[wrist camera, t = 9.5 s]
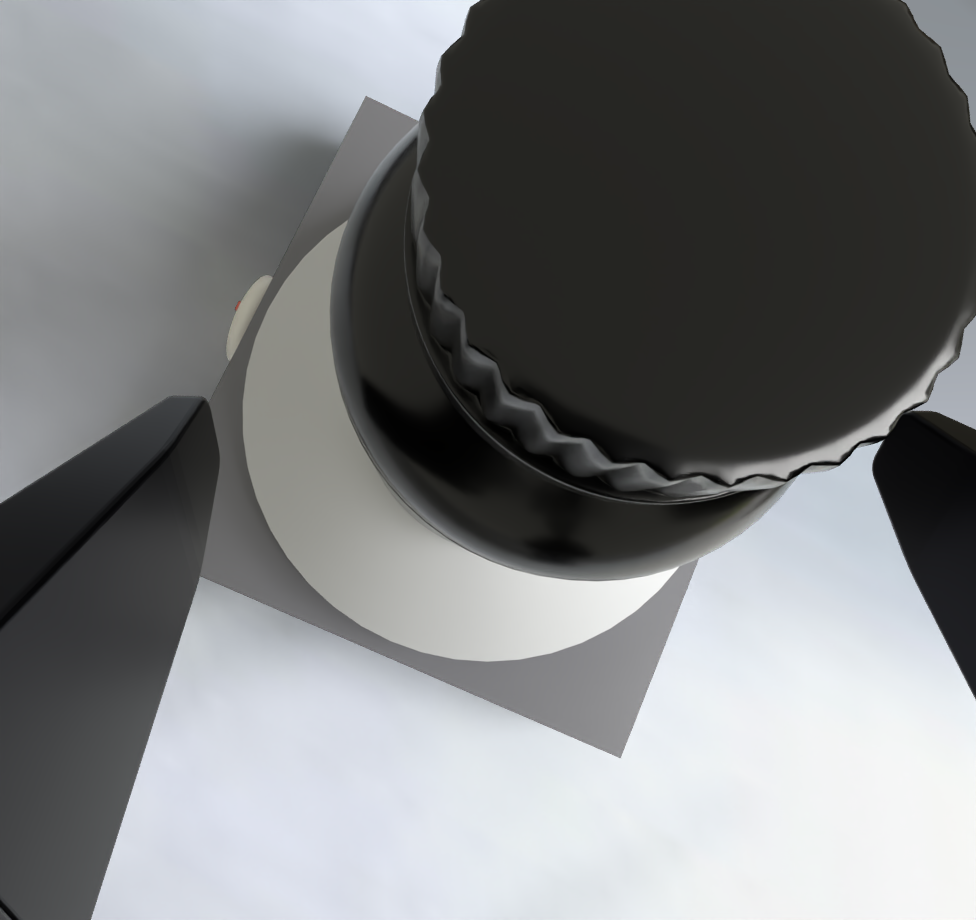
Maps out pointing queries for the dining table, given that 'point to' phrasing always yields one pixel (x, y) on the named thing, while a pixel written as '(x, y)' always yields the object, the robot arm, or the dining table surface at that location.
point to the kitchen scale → (398, 515)
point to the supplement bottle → (653, 271)
